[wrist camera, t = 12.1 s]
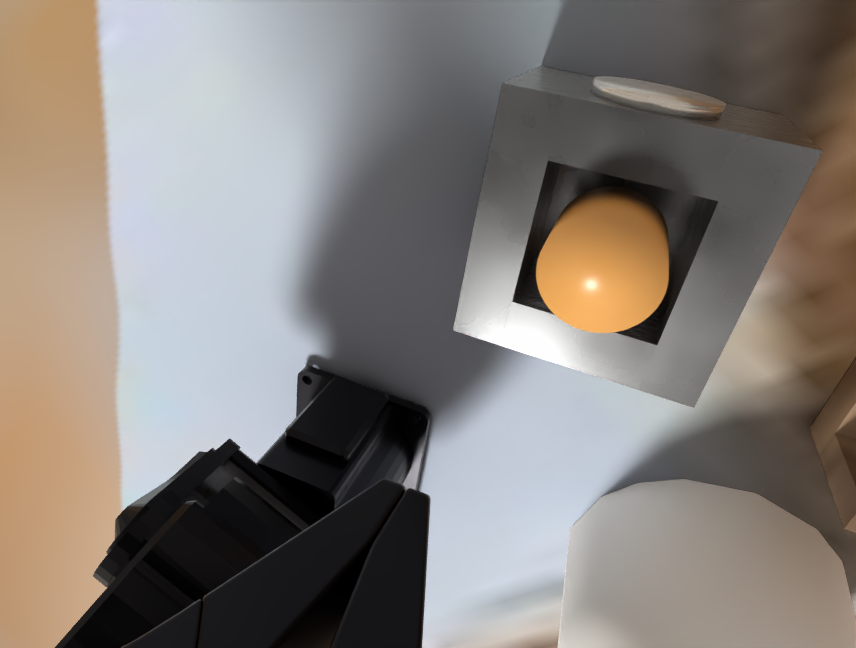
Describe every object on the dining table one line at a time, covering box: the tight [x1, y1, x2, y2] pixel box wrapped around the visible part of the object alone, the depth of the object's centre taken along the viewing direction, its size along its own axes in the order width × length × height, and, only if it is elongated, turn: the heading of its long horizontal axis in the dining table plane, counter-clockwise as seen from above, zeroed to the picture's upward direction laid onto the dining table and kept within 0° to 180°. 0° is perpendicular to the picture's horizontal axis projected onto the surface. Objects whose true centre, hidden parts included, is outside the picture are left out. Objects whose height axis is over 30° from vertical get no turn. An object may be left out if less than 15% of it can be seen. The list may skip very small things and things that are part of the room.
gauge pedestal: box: [453, 66, 822, 407], centre depth 17 cm, size 7×7×5 cm
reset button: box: [536, 186, 669, 333], centre depth 15 cm, size 3×3×4 cm
